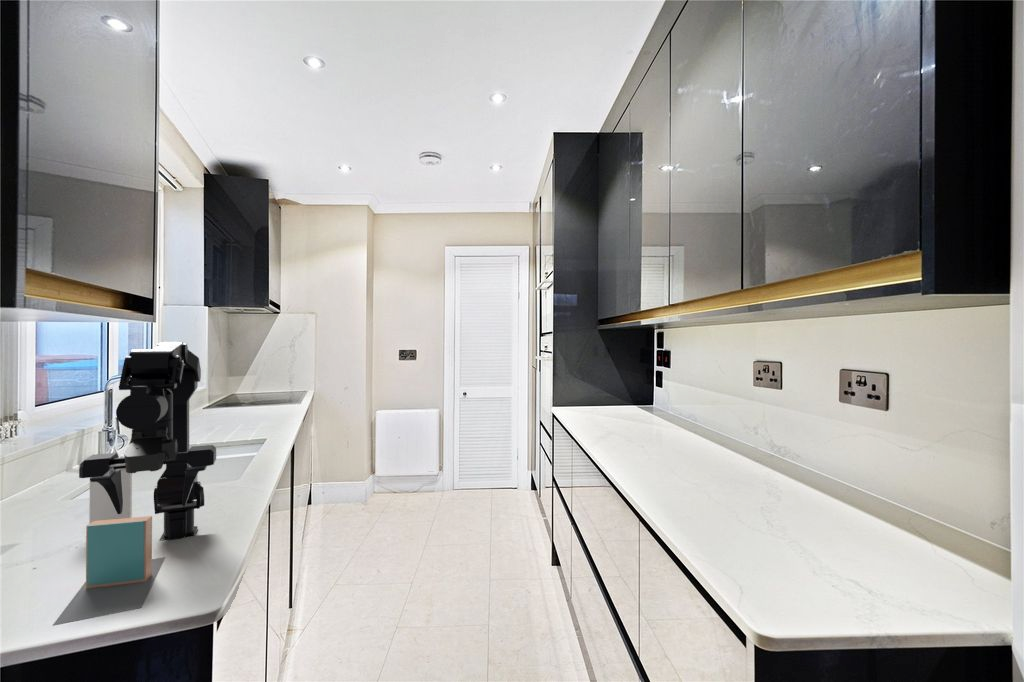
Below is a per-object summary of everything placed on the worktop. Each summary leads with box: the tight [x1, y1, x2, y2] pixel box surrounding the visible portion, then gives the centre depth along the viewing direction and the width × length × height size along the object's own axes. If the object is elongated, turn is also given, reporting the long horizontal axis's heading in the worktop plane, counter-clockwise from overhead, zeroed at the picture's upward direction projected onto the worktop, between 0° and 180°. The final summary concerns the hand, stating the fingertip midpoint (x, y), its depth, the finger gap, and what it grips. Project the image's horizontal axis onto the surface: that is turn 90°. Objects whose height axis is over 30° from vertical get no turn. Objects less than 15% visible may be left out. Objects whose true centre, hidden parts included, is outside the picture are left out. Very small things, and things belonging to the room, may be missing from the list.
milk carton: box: [88, 448, 133, 525], centre depth 111 cm, size 7×7×19 cm
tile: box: [85, 515, 153, 588], centre depth 88 cm, size 3×9×11 cm, turn 107°
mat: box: [52, 556, 166, 626], centre depth 86 cm, size 21×11×1 cm, turn 27°
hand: (152, 509), depth 85 cm, fingers open, 9 cm apart
